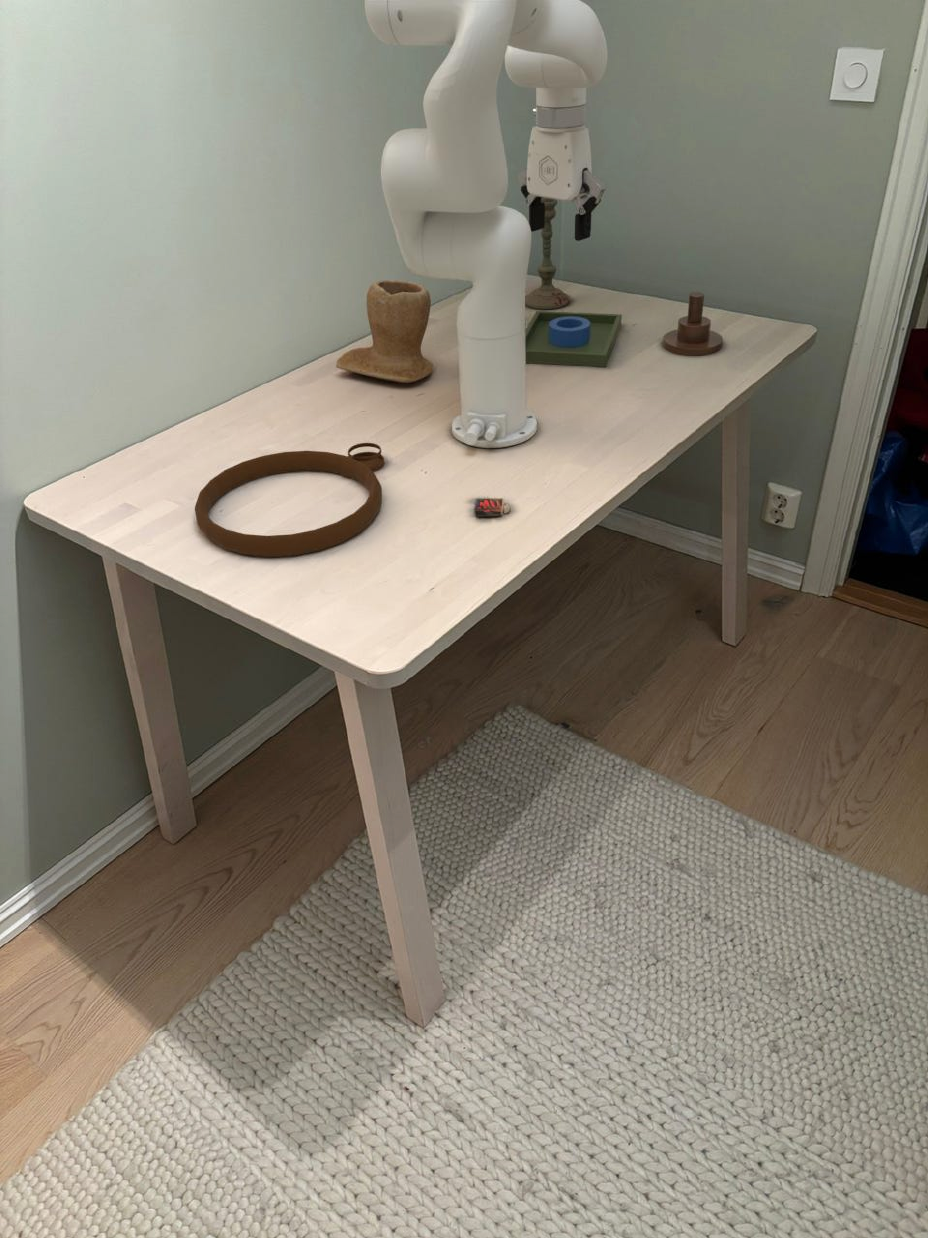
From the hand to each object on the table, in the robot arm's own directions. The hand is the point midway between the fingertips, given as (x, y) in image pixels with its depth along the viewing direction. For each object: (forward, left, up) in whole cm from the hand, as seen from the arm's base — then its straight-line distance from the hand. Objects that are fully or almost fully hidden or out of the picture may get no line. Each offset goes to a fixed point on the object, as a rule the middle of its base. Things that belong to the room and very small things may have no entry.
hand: (559, 234), depth 163 cm
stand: (+4, -23, -19) cm, 30 cm away
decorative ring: (-59, +23, -19) cm, 66 cm away
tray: (+2, -2, -19) cm, 19 cm away
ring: (+2, -2, -19) cm, 19 cm away
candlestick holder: (+23, +6, -19) cm, 31 cm away
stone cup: (-15, +25, -19) cm, 35 cm away
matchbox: (-57, -2, -19) cm, 60 cm away
